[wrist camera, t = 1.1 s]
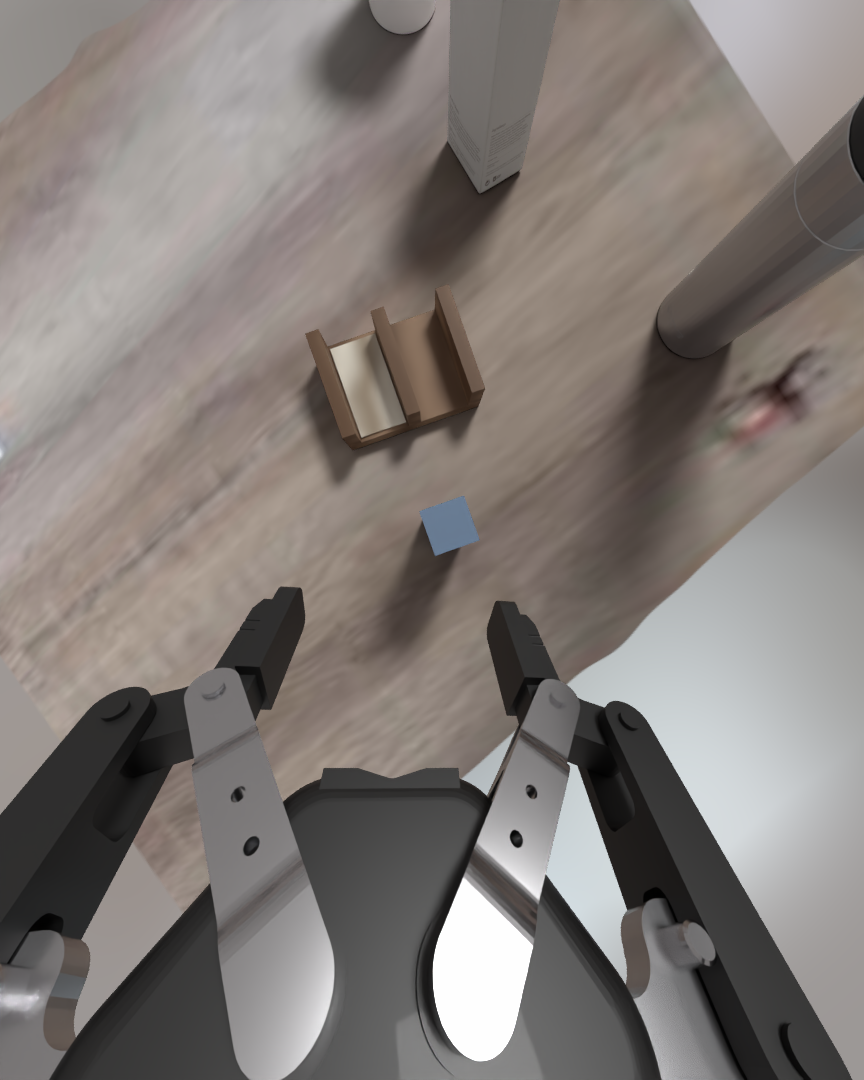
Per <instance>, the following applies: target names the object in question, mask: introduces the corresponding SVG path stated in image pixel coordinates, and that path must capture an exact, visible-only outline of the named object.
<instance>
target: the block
mask: <svg viewBox="0 0 864 1080" xmlns="http://www.w3.org/2000/svg"><path fill="white" fill-rule="evenodd" d="M419 512H420V515H421V518H422V520H423V523H424V526H425V529H426V532H427V535H428V537H429V540H430V543H431V546H432V549H433V551H434V554H435V556H436V555H439V554H442V553H445V552H448V551H450V550H453V549H456V548H459V547H462V546H465V545H467V544H470V543H473V542H476V541H479V537H478V534H477V531H476V529H475V526H474V523H473V520H472V517H471V514H470V512H469V509H468V506H467V503H466V500H465V497H464V496H461V497H458V498H456V499H453V500H450V501H447V502H444V503H441V504H439V505H436V506H433V507H430V508H427V509H424V510H422V511H419Z"/></svg>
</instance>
